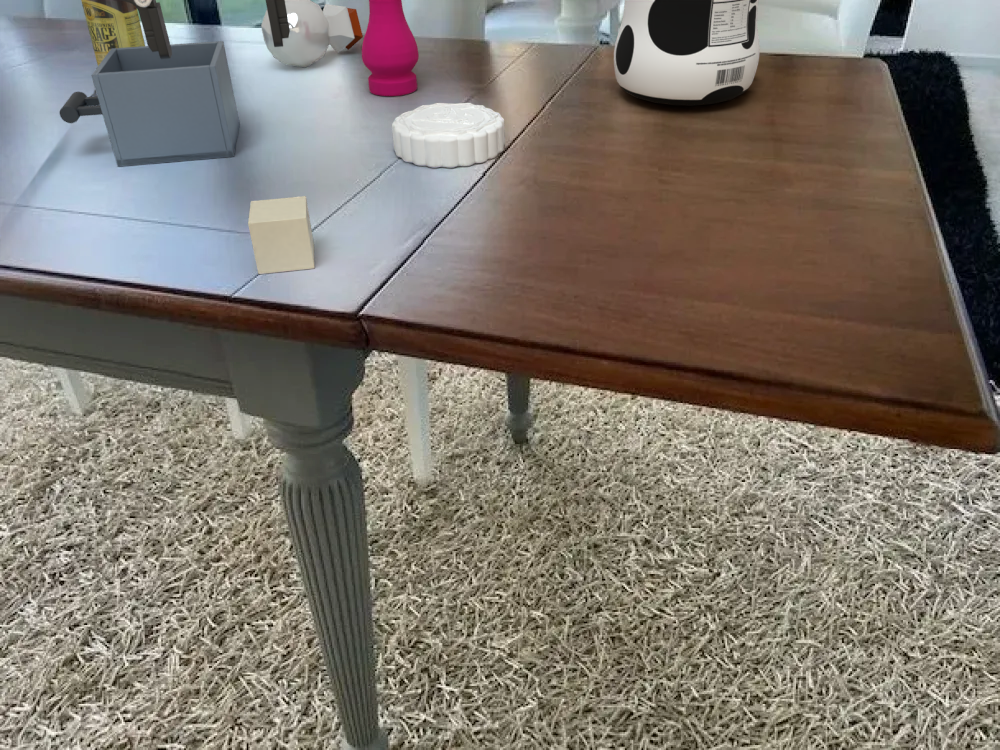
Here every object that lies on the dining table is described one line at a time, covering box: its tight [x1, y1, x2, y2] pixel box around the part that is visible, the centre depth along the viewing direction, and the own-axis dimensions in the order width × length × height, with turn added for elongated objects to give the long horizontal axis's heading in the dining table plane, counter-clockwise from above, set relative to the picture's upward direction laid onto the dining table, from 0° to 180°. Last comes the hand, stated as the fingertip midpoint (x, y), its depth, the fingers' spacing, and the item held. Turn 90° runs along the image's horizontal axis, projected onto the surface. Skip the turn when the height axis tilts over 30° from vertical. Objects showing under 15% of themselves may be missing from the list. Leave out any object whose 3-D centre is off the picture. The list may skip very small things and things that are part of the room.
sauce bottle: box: [80, 0, 146, 67], centre depth 107 cm, size 7×6×20 cm
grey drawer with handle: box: [59, 40, 241, 168], centre depth 92 cm, size 17×11×10 cm, turn 101°
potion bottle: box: [260, 0, 364, 68], centre depth 122 cm, size 9×10×15 cm
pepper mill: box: [361, 0, 420, 97], centre depth 106 cm, size 7×7×20 cm
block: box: [247, 195, 316, 275], centre depth 70 cm, size 4×4×4 cm
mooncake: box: [391, 102, 506, 169], centre depth 91 cm, size 12×12×4 cm
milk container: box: [613, 0, 761, 107], centre depth 101 cm, size 17×17×18 cm
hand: (223, 50), depth 66 cm, fingers open, 8 cm apart
